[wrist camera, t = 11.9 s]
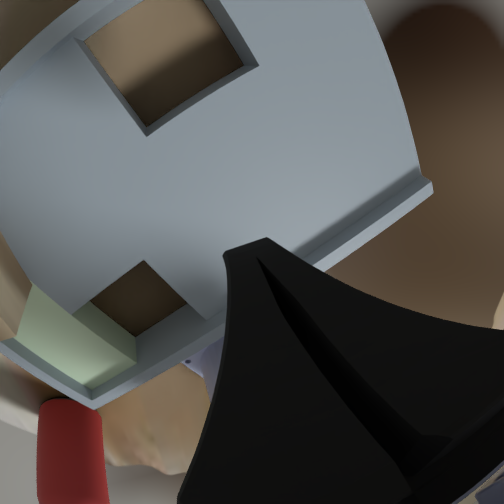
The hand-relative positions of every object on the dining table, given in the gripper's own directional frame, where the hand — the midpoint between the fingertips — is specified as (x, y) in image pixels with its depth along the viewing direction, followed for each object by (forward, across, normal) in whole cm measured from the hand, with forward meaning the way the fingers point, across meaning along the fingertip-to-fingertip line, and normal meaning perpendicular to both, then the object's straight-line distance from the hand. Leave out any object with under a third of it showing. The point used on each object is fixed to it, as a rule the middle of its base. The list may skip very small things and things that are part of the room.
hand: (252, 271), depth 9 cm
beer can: (+10, +19, +18) cm, 28 cm away
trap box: (+10, +2, 0) cm, 10 cm away
